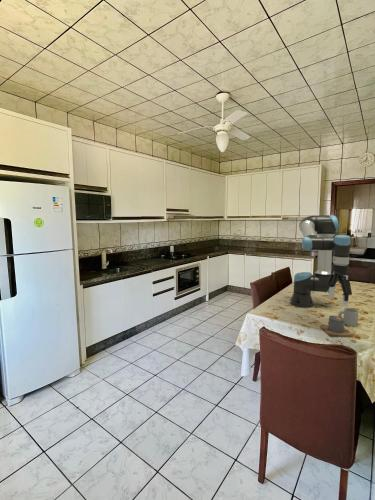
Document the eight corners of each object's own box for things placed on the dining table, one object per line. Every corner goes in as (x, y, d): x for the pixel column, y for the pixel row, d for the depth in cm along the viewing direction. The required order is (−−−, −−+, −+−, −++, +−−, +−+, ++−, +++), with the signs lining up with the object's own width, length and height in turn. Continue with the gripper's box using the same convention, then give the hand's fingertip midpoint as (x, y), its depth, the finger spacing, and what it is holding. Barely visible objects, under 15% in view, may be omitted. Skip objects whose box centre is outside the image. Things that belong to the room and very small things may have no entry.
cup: (357, 328, 149) (358, 313, 148) (337, 324, 154) (338, 310, 153) (357, 323, 155) (358, 309, 154) (338, 320, 160) (339, 306, 159)
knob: (326, 327, 148) (326, 314, 147) (339, 327, 147) (339, 314, 146) (332, 332, 141) (333, 319, 140) (346, 332, 140) (347, 319, 139)
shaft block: (319, 327, 150) (320, 317, 149) (341, 327, 150) (341, 317, 149) (330, 336, 138) (331, 325, 138) (353, 337, 138) (354, 326, 137)
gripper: (322, 260, 152) (320, 294, 155) (346, 269, 127) (343, 310, 130) (335, 259, 151) (333, 294, 154) (362, 269, 127) (358, 310, 130)
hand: (337, 302), depth 142 cm, fingers open, 13 cm apart
